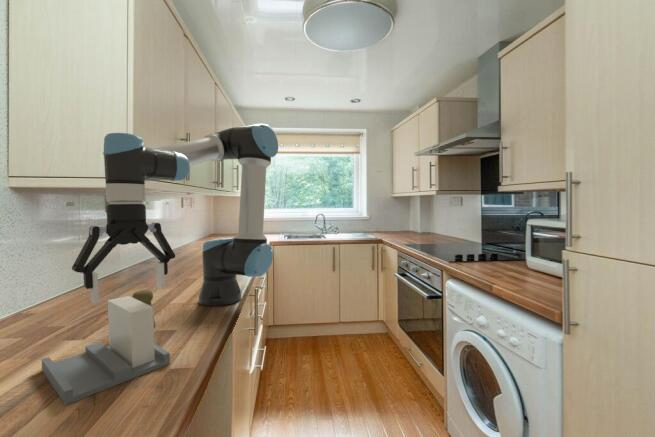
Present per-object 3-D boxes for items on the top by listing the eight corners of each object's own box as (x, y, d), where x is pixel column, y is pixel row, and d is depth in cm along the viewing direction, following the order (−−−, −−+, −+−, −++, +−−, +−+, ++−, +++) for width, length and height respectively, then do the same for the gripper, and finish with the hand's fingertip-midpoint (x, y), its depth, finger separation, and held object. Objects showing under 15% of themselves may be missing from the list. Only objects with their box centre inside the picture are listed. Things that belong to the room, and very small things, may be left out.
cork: (150, 322, 94) (149, 287, 94) (159, 327, 90) (158, 290, 90) (128, 328, 90) (126, 291, 89) (136, 334, 86) (134, 295, 85)
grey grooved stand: (135, 340, 82) (135, 331, 81) (169, 363, 70) (169, 352, 70) (42, 370, 67) (41, 359, 67) (65, 405, 55) (64, 391, 55)
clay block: (130, 342, 78) (128, 295, 78) (154, 359, 70) (153, 307, 69) (109, 349, 75) (107, 300, 74) (132, 368, 66) (130, 312, 66)
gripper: (173, 202, 83) (176, 281, 84) (50, 203, 63) (55, 306, 64) (187, 202, 78) (190, 285, 79) (59, 203, 58) (65, 314, 60)
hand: (130, 295), depth 72 cm, fingers open, 13 cm apart
